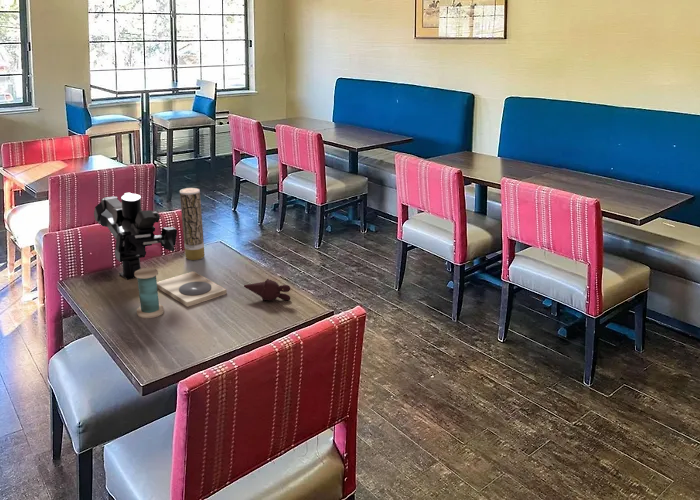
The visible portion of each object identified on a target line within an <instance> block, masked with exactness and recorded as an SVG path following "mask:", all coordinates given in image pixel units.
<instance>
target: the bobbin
mask: <svg viewBox="0 0 700 500" xmlns="http://www.w3.org/2000/svg"><path fill="white" fill-rule="evenodd" d="M158 275H159V270H158V269H157V268H155V267H144V268H143V267H142V268H141V269H139V270H137V271H135V273H134V276H135V277H136V278H137V287H138V297H139V303H140V305H139V307H137V309H136V314H137V317H138V318H141V319H153V318H158V317H160V316H162V315H163V314H164V313H165V312H164V311H165V309H164V308H165V307H164V305H162V304H160V301H159V300H160V299H159V293H158V290H159V289H158V288H157V282H158V281H157V276H158ZM136 278H135V279H136Z"/></svg>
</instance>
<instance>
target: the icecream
mask: <svg viewBox="0 0 700 500" xmlns="http://www.w3.org/2000/svg"><path fill="white" fill-rule="evenodd" d="M243 287H244V288H245V289H247V290H249V291H250V292H253V294H256V295H257V296H259V297H261V299H262V301H263V302H265V301H273V300H276V299H277V298H279V299H280V300H283V301H286V300H289V301H290V300H291V296H290V295H288V294H286V293H289V292H290V291H291V287H290V285H289V284H283V285H279V283H278V282H276V281H275V280H272V279H269V278H266V280H265V281H262V282H255V283H249V284H244V285H243Z"/></svg>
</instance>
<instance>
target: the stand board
mask: <svg viewBox="0 0 700 500" xmlns="http://www.w3.org/2000/svg"><path fill="white" fill-rule="evenodd" d="M157 290H160V291H162V292H163V293H165V294H167V295H168V296H169V297H171V298H173V299H174V300H176V301H178V302H179V303H181V304H183V306H185V307H191V306H195V305H197V304H200V303H203V302H206V301H209V300H212V299H215V298H218V297H221V296H222V297H223V296H225V295H227V294H228V293H227V292H228V291H227V288H224V287H223V286H221V285H220V284H218V283H216V282H213V281H212V280H210V279H208V278H207V277H204V276H203V275H201V274H199V273H198V272H196V271H189V272H186V273H183V274H180V275H179V274H178V275H176V276H173V277H169V278H166V279H163V280H160V281H157Z"/></svg>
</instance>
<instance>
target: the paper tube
mask: <svg viewBox="0 0 700 500" xmlns="http://www.w3.org/2000/svg"><path fill="white" fill-rule="evenodd" d="M200 190H201V189H200V188H197V187H186V188H185V187H184V188H182V189H180V190H179V198H180V199H179V201H180V210H181V211H180V212H181V222H182V223H181V224H182V233H183V234H182V235H183V244H184V246H183V247H184V254H185V255H184V257H185V258H186V259H187V260H189V261H199V260H202V259H203V258H204V257H205V243H204V231H203V230H204V229H203V228H204V227H203V218H202V217H203V215H202V214H203V213H202V206H201V205H202V204H201V203H202V202H201V191H200Z"/></svg>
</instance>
